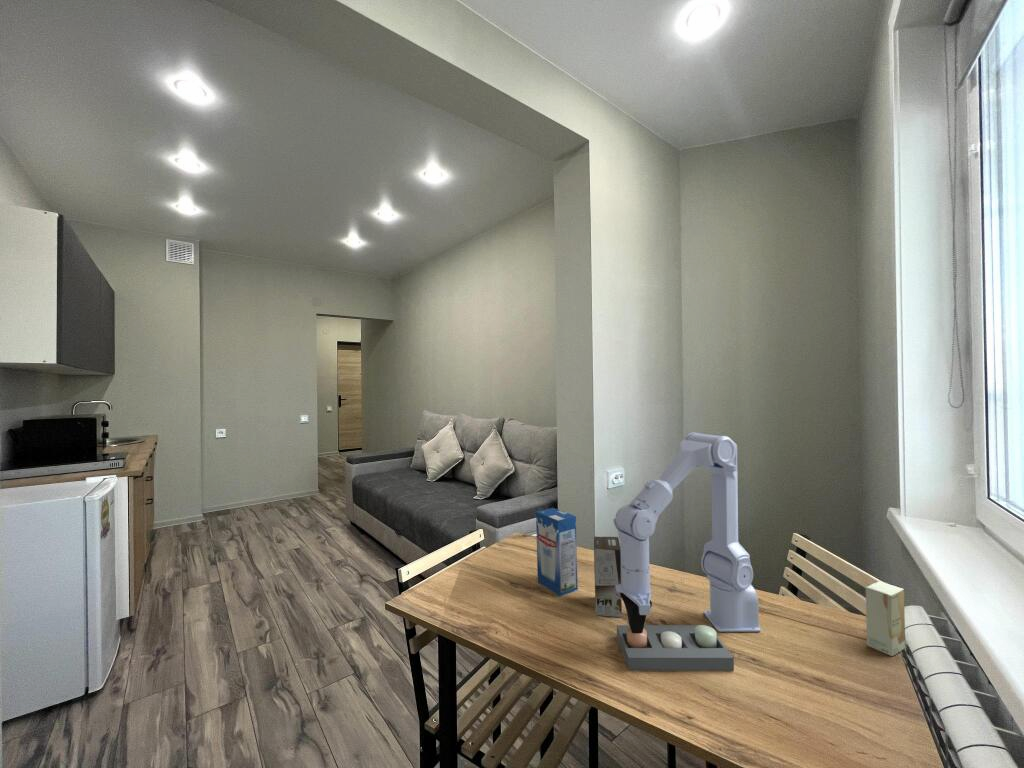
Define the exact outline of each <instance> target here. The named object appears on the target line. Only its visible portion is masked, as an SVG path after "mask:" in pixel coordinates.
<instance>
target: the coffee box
mask: <svg viewBox="0 0 1024 768" xmlns="http://www.w3.org/2000/svg"><path fill="white" fill-rule="evenodd" d="M593 539H594V540H593V562H594V564H593V565H594V566H593V567H594V568H593V569H594V571H593V572H594V595H595V596H594V598H595V615H596V616H605V617H615V618H622V617H623V615H622V614H623V613H622V612H623V611H622V607H623V605H622V604H623V603H622V601H623V600H622V598H621V595H620V593H622V592H617V591H616V589H615V585H620V584H621V551H620V538H619V536H593Z"/></svg>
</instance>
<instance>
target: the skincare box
mask: <svg viewBox="0 0 1024 768" xmlns="http://www.w3.org/2000/svg"><path fill="white" fill-rule="evenodd" d="M865 611H866V612H865V613H866V615H865V616H866V646H867V647H870V648H873V649H874V650H877V651H879V652H881V653H884V654H886V655H889V656H890V657H893V656H895V655H897V654H899V653H900V652H902V651H904V649H906V623H905V622H906V621H905V620H906V618H905V589H904V588H902V587H898V586H896V585H892V584H889V583H887V582H883V581H879V580H878V581H876V582H874V583H872V584H870V585H867V586H865ZM898 652H899V653H898Z"/></svg>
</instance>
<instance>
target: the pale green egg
mask: <svg viewBox="0 0 1024 768" xmlns="http://www.w3.org/2000/svg"><path fill="white" fill-rule="evenodd" d="M697 625H698V626H696V627H695V644H696V645H697V647H698V648H717V641H716V635H717V630H716V629H714V628H713V627H711V626H710V625H709V626H710V627H709V626H705V625H706V624H703V625H702V624H697Z"/></svg>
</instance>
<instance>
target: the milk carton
mask: <svg viewBox="0 0 1024 768" xmlns="http://www.w3.org/2000/svg"><path fill="white" fill-rule="evenodd" d="M535 519H536V520H535V523H536V528H535V529H536V531H535V532H536V563H537V569H536V570H537V571H536V572H537V584H539V583H540V585H541V586H543V587H544V588H546V589H547V590H549V591H551V592H552V593H554V594H555V595H557V596H558V597H562V596H563V597H564V596H566V595H567V594H571V593H573V592H575V590H576V591H578V555H577V554H578V553H577V552H578V551H577V550H578V549H577V548H578V547H577V546H578V545H577V516H576V515H574V514H571V513H568V512H566V511H563V510H560V509H558V508H554V507H551V508H547V509H543V510H538V511H535ZM570 592H571V593H570Z"/></svg>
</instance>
